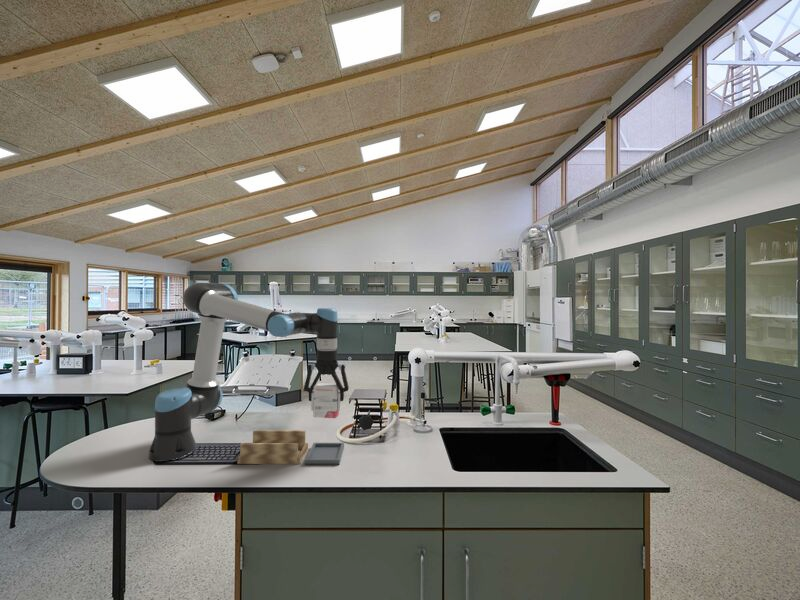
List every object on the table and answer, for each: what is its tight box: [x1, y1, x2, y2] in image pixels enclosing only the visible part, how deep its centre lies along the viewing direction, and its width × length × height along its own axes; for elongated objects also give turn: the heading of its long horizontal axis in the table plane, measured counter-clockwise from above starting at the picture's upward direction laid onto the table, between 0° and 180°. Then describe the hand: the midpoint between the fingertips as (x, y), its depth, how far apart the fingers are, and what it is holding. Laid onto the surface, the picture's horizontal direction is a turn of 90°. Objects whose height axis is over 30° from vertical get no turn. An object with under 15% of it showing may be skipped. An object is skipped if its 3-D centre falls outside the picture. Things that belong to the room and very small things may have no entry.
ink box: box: [312, 382, 340, 419], centre depth 144 cm, size 9×5×12 cm, turn 81°
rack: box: [236, 429, 309, 465], centre depth 144 cm, size 22×14×7 cm, turn 92°
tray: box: [304, 442, 345, 466], centre depth 144 cm, size 12×16×2 cm
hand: (326, 409), depth 144 cm, fingers closed on ink box, 9 cm apart
